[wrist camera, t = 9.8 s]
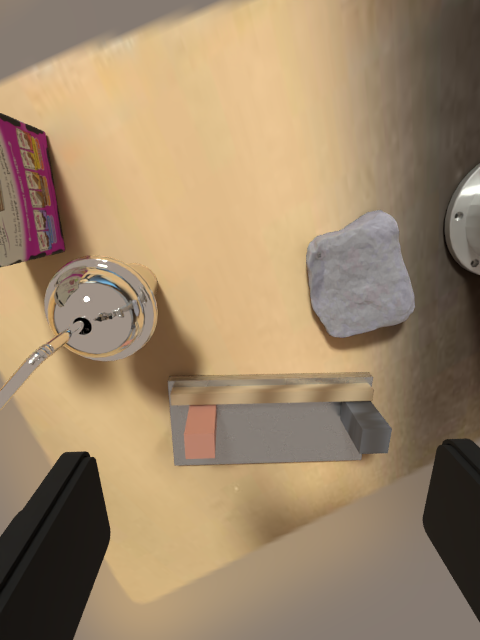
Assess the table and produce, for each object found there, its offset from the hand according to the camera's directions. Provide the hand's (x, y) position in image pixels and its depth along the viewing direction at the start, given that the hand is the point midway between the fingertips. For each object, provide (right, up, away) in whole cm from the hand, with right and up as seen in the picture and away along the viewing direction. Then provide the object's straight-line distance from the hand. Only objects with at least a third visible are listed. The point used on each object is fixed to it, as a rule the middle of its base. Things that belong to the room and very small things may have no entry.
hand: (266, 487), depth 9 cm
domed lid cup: (-12, +8, +26) cm, 30 cm away
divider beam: (+3, -6, +30) cm, 30 cm away
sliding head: (-5, -7, +29) cm, 31 cm away
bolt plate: (+3, -8, +32) cm, 33 cm away
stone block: (+11, +9, +27) cm, 31 cm away
